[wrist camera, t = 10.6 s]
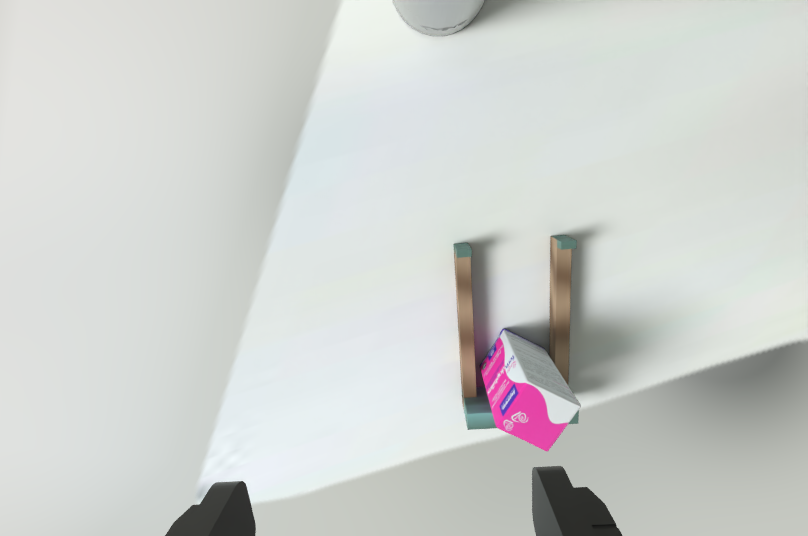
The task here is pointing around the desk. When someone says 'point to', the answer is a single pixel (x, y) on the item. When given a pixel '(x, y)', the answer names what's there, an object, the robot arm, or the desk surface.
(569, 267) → the guide lane
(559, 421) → the supplement box
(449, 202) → the desk surface
